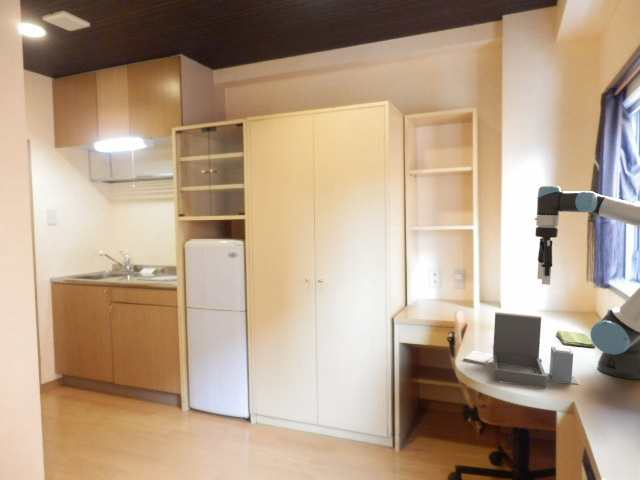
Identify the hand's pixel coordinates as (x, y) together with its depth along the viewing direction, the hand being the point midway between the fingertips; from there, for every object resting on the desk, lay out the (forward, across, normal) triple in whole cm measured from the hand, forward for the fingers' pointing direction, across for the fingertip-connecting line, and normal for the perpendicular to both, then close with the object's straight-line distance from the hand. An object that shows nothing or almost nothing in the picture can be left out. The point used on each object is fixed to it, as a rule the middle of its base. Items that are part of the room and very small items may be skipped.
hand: (543, 281), depth 174 cm
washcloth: (+32, -38, +19) cm, 53 cm away
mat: (+32, +17, +5) cm, 36 cm away
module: (+31, +17, +5) cm, 36 cm away
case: (+32, +18, -9) cm, 38 cm away
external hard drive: (+32, +6, -22) cm, 40 cm away
